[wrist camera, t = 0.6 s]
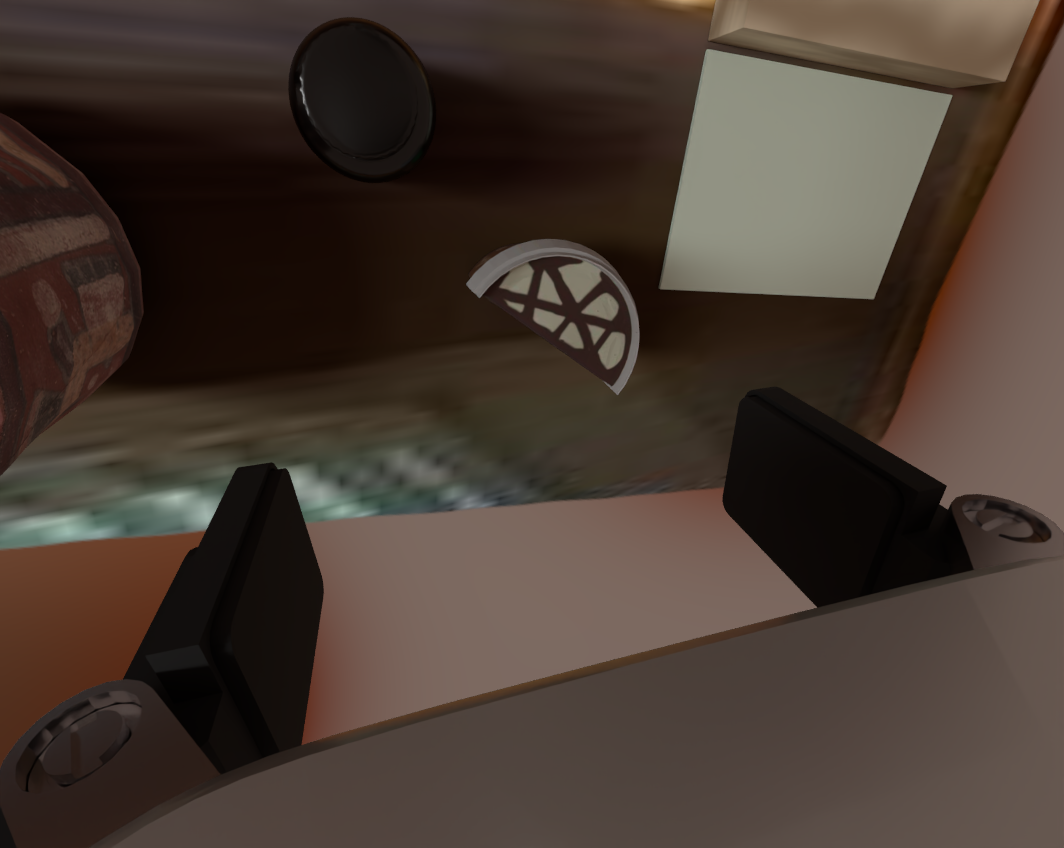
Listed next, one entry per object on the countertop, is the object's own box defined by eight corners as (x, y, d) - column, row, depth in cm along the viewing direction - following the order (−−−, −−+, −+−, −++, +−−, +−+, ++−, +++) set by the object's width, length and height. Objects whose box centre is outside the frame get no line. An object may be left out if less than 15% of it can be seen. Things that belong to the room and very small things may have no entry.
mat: (706, 50, 34) (708, 49, 34) (948, 95, 40) (952, 95, 40) (658, 288, 41) (660, 289, 41) (871, 298, 47) (873, 299, 47)
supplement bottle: (437, 78, 31) (462, 37, 21) (415, 193, 34) (427, 207, 24) (319, 31, 29) (281, -41, 19) (304, 159, 32) (264, 157, 21)
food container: (622, 289, 41) (685, 323, 32) (575, 350, 42) (623, 399, 33) (500, 186, 35) (537, 194, 26) (451, 261, 36) (470, 292, 28)
